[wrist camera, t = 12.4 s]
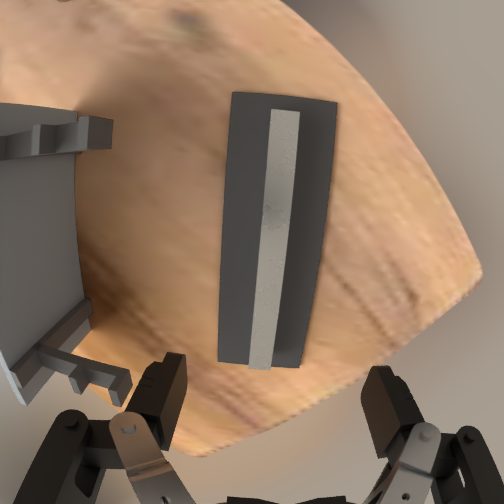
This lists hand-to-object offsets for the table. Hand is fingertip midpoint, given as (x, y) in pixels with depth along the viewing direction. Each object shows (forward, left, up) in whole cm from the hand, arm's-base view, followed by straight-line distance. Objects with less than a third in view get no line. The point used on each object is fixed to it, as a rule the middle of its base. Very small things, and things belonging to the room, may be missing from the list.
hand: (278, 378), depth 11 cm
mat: (0, 0, -19) cm, 19 cm away
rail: (0, 0, -19) cm, 19 cm away
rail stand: (0, -18, -19) cm, 26 cm away
